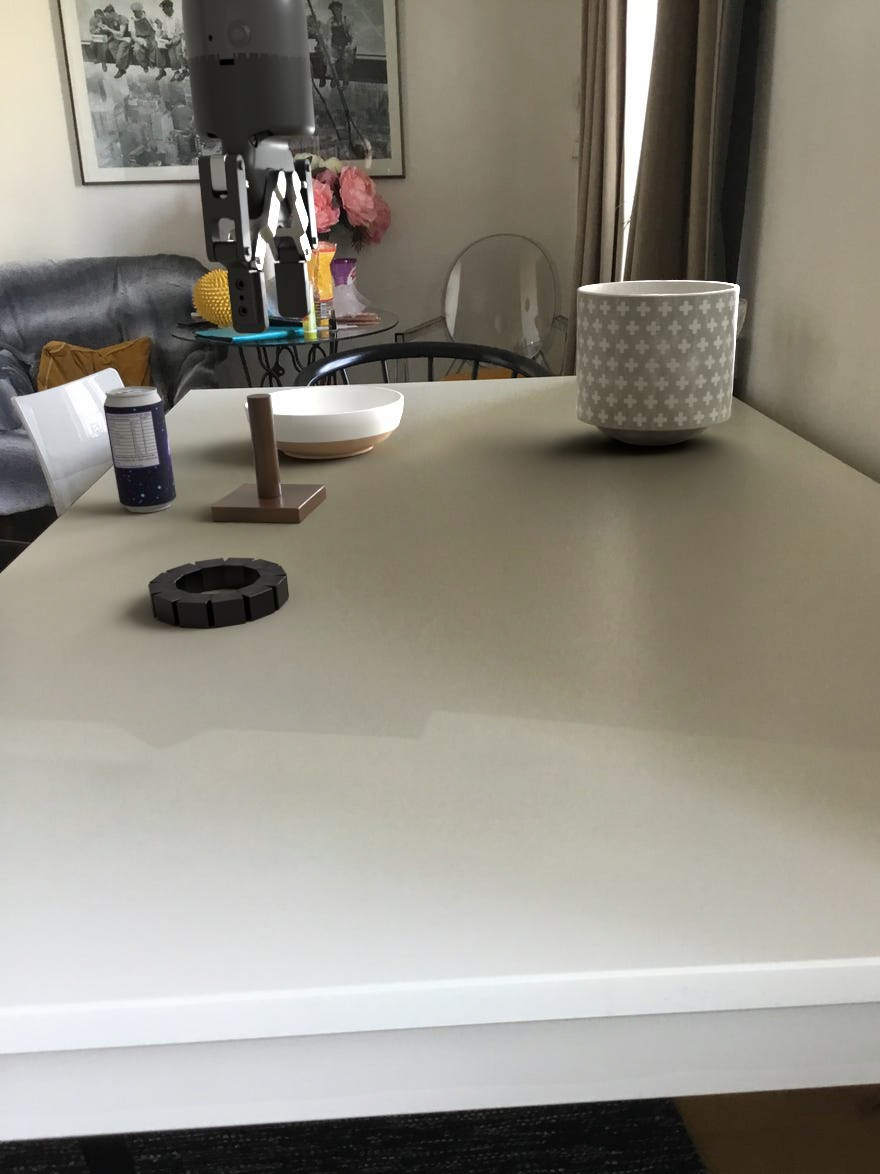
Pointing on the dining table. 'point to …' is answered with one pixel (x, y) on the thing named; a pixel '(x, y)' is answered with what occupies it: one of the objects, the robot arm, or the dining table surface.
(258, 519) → the stand
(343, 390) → the bowl
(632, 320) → the planter
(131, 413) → the beverage can
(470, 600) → the dining table surface
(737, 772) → the dining table surface
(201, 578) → the ring
